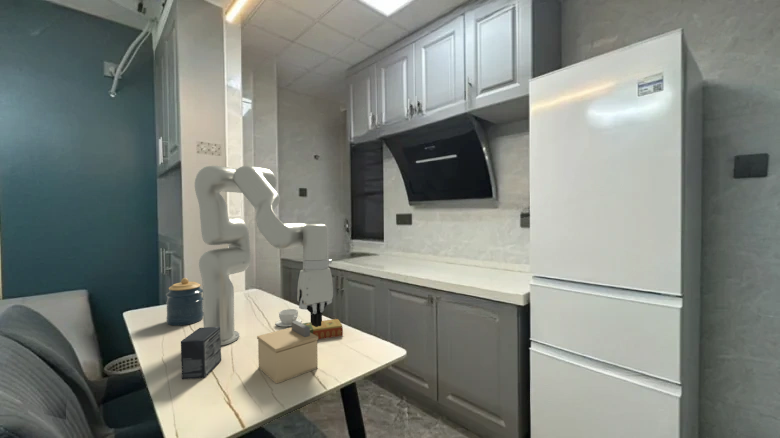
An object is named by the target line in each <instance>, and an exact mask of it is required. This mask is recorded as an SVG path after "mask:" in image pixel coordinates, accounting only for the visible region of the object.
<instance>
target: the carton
mask: <svg viewBox="0 0 780 438" xmlns="http://www.w3.org/2000/svg"><path fill="white" fill-rule="evenodd" d="M301 323H302V324H304V325H306V326H308V327H310V333H312V334H314V335H316V336H318V340H323V339H331V338H338V337H343V336H344V331H343V324H342V323H341V321H340V320H339V318H335V319H334V318H333V319H327V320H325V319H324V320H322V322H321V326H318V327H315V326H313V325H312V324H311V321H310V322H304V323H303V322H301Z"/></svg>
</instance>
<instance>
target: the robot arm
mask: <svg viewBox="0 0 780 438" xmlns="http://www.w3.org/2000/svg"><path fill="white" fill-rule="evenodd" d="M276 186H277V178H276V175H275V174H274V173H273V171H271V170H270V169H268V168H266V167H259V166H253V165H243V166H239V167H238V168H236V167H235V168H234V167H227V166H222V165H209V166H205V167H203V168H201V169H200V170H199V171H198V173H197V174H196V176H195V178H194V191H195V195H196V199H197V202H198V208H199V219H200V231H201V238H202V240H203V242H204V243H205V245H209V246H222V245H227V246H228V247H224V248H223V247H222V248H216V249H211V250H208V251H205V252H204V253H203V254H202V255H201V256H200V258H199V260H198V269H199V273H200V276H201V282H202V283H201V284H202V285H201V286H202V289H203V292H202V297H203V319H202V321H203V322H202V323H203V328H205V327H220V339H221V346H225V345H229V344H231V343H233V342H235V341H237V340H238V339H239V338H240V332H239V331H236V330H235V289H234V285H233V282H232V281H231V279H230V277H229V276H230V275H233V274H238V273H242V272H244V271H247V269H248V268H249V267H250V265H251V262H252V261H251V260H252V256H251V255H252V254H251V241H250V232H249V228H248V225H247V223H246V222H245V221H244V220H243V219H242V218H239V217H229V214H228V204H227V202H226V200H225V199H224V196H222V195H221V193H220V192H225V193H239V194H243V196H244V198H246V199H247V201H248V202H249V203H250V204H251V206H252V207H253V208H254V209H255V211H256V213H255V220H256V225H257V228H258V230H259V233H261V235H262V236H263V238H265V239H266V241H267V242H268V243H269V244H270V245H271V246H273V247H274V248H276V249H279V250H288V249H293V248H300V247H302V269H301V270H300V271H299V275H298V281H297V292H296V293H297V295H296V300H297V302H298V303H299V305H298V308H299V309H300V310H307V311H308V312H309V313H310V322H311V324H312V325H313V326H315V327H318V326H321V322H322V321H323V312H324V311H325V308H326V307H327V306H328V305H330V304H332V303H333V297H334V284H333V283H334V282H333V276H332V271H331V268H330V267H329V266H330V265H331V264H332V259H329V227H328V226H327V224H324V223H310V224H309V223H303V222H291V223H290V222H287V223H283V221H281V220H280V219H279V217H278V215H276V213H275V211H274V210H275V209H276V208H277V207H278V206H279V203H280V202H281V196H280V195H279V192H277V190H276V189H275V188H276Z"/></svg>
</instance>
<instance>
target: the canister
mask: <svg viewBox="0 0 780 438" xmlns="http://www.w3.org/2000/svg"><path fill="white" fill-rule="evenodd" d="M201 284H202V283H201ZM201 284H200V283H199V282H197V281H190V280H189V278H187V277H183V278H181V281H180V282H177V283H174V284H172V285H171V286H169V287H168V290H169V291H168V292H166V293H165V296H166V297H167V301H166V302H165V304H166V322H167V323H166V324H167V325H168V326H186V325H190V324H195V323H197V322H200V321H203V288H201V286H202V285H201Z"/></svg>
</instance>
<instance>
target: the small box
mask: <svg viewBox="0 0 780 438" xmlns="http://www.w3.org/2000/svg"><path fill="white" fill-rule="evenodd" d="M221 346H222V345H221V339H220V327H205V328H204V327H198V328H197V329H196V330H195V331H193V332H191V333H190V334H189V335H187V336H186V337H184V338H183V339H182V340H180V355H181V356H180V357H181V360H180V361H181V363H180V364H181V379H182V380H188V379H189V380H192V379H193V380H195V379H196V380H197V379H205V378H207V376H209V375H210V374H211V372H212V371H214V369H215V368H216V367H217V366H218V365H219V364H220V363H221V361H222V348H221Z"/></svg>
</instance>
